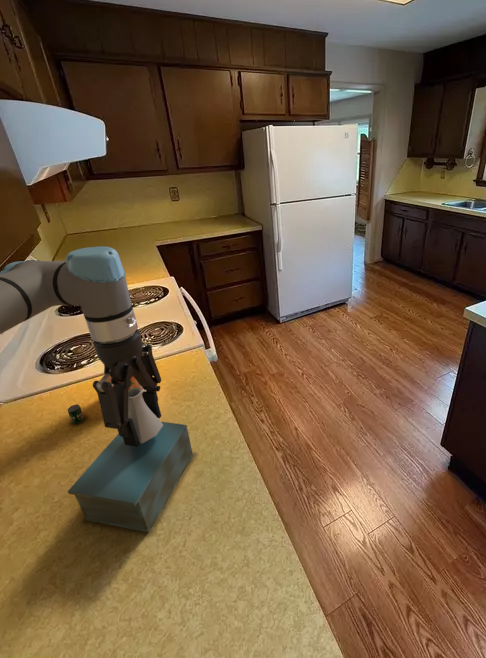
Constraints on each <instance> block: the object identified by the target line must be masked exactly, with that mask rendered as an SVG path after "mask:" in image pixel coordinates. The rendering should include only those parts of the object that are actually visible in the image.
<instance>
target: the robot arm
mask: <svg viewBox="0 0 486 658" xmlns="http://www.w3.org/2000/svg"><path fill="white" fill-rule="evenodd" d="M126 277H127V276H126V271H125V268H124V267H123V264H122V261H121V258H120V254H119V253H118V251H117V250H116V249H114V248H113V247H111V246H102V245H101V246H93V247H91V246H89V247H82V248H78V249H75V250H72V251H70V252H68V253H67V254H66V256H65V260H40V259H36V260H35V259H27V260H23V261H22V260H21V261H13V262H10V263H8V264H6V265H5V266H4V268H3V269H2V270H1V271H0V335H2V334H4V333H5V332H7V331H9V330H12V328H14V327H16V326H18V325H20V324H22V323H24V322H27V321H28V320H30V319H32V318H33V317H35V316H37V315H39V314H41V313H43V312H45V311H46V310H49V309H50V308H52V307H56V306H64V307H65V306H70V307H71V306H72V307H73V306H75V307H76V306H80V309H81V311H82V314H83V317H84V319H85V322H86V326H87V329H88V333H89V335H90V338H91V340H93V342H92V344H93V347H94V350H95V353H96V356H97V359H98V360H99V361H100V362H101V363H102V364H103V367H104V368H103V373H104V375H103V376H102V377H101V378H100V380H94V381H93V382H92V388H93V389H94V391H95V392H96V394H97V397H98V402H99V406H100V411H101V417H102V420H103V425H104V427H105V428H107V429H114V430H115V429H116V430H117V432H118V433H117V434H119V435H120V436H121V437H123V440H124V443H125V445H128V446H135V447H138V446H139V444H140V443H139V439H138V436H137V433H136V430H135V426H134V423H133V420H132V419H130V418H128V388H129V387H130V386H131V378H132V377H133V376H134V378H135V379H136V380H137V382H138V383H139V384H140V385H141V387H142V388H143V389H144V390H146V391H144V392H143V393H142V397H143V400H144V402H145V403H146V405H147V407H148V408H149V409H150V410H151V411H152V412H153V413H154V415H155V416H156V417H157V418H158V419H159V420H160V418H161V417H162V412H161V409H160V405H159V396H158V392H160V391H161V385H158V384H160V383H161V382H162V377H161V375H160V371H159V369H158V366H157V363H156V361H155V357H154V355H153V346H152V344H149V343H143V340H142V336H141V332H140V330H139V329H138V328H139V325H138V322H137V317H136V314H135V310H134V307H133V306H134V305H133V303H132V300H131V296H130V292H129V286H128V282H127V278H126ZM121 382H124V383H121Z"/></svg>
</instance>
